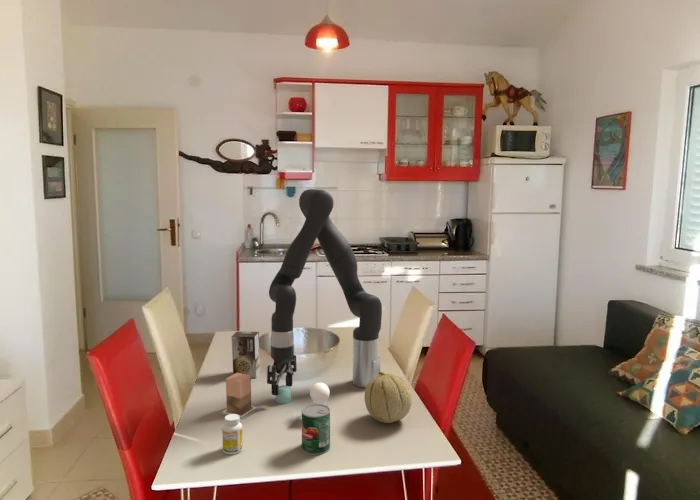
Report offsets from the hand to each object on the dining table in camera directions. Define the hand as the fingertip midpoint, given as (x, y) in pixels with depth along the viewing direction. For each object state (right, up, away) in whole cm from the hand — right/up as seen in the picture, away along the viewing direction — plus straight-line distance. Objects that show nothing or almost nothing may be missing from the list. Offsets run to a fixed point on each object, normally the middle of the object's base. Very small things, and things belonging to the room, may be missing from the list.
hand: (282, 390), depth 173 cm
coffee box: (-17, -1, +25) cm, 30 cm away
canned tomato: (+13, -9, -28) cm, 32 cm away
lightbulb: (+13, -6, -9) cm, 17 cm away
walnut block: (-13, -5, -6) cm, 15 cm away
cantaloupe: (+34, -6, -12) cm, 37 cm away
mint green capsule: (0, -4, +1) cm, 4 cm away
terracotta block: (-13, +1, -7) cm, 15 cm away
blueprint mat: (-13, -5, -6) cm, 15 cm away
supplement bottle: (-10, -9, -29) cm, 32 cm away
